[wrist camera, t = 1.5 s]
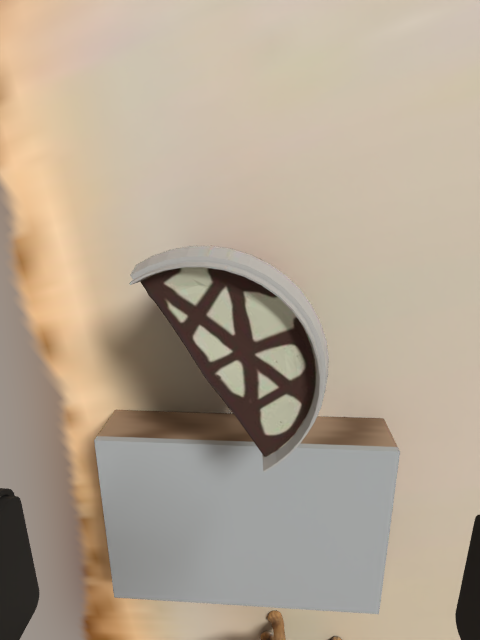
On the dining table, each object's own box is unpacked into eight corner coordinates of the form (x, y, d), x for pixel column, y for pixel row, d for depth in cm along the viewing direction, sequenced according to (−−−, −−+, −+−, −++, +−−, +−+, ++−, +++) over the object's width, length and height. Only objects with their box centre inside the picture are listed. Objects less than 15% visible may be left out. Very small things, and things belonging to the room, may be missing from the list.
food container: (345, 347, 29) (382, 426, 19) (269, 388, 30) (269, 480, 21) (251, 191, 26) (240, 193, 17) (172, 243, 28) (121, 273, 18)
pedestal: (383, 418, 30) (399, 451, 27) (366, 567, 35) (378, 614, 31) (115, 410, 32) (94, 440, 28) (130, 554, 36) (114, 597, 32)
